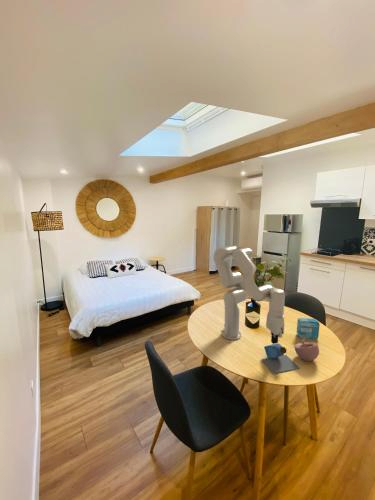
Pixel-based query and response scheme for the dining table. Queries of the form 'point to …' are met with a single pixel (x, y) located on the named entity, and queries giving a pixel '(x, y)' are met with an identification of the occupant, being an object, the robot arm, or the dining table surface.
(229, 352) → the dining table surface
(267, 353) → the perfume bottle
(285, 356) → the slate mat
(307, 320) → the data package
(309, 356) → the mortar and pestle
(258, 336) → the dining table surface
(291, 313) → the dining table surface
